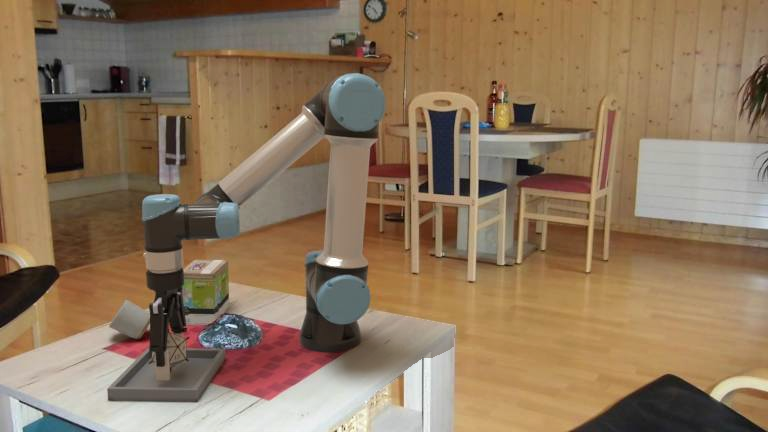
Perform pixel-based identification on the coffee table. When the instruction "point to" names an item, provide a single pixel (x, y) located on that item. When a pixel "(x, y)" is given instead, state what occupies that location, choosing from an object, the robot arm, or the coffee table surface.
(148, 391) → the tray
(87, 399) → the coffee table surface
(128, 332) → the soft-edged grey cube
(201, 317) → the tea box
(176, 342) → the game die
